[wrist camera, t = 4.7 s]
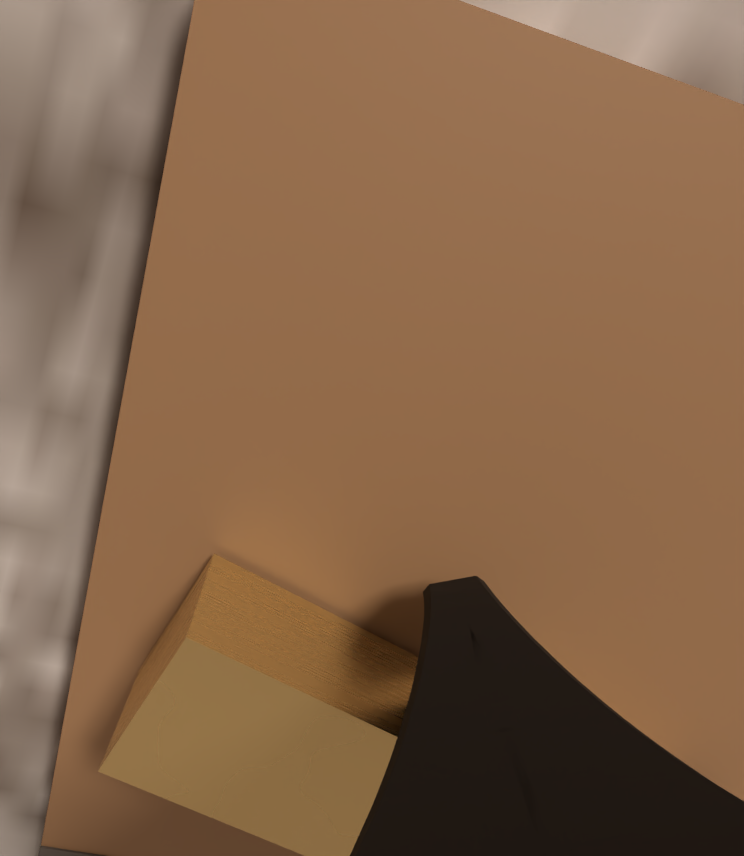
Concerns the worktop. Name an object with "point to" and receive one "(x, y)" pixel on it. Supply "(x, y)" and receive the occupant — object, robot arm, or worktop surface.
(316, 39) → the door mockup
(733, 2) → the worktop surface
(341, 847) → the latch arm
